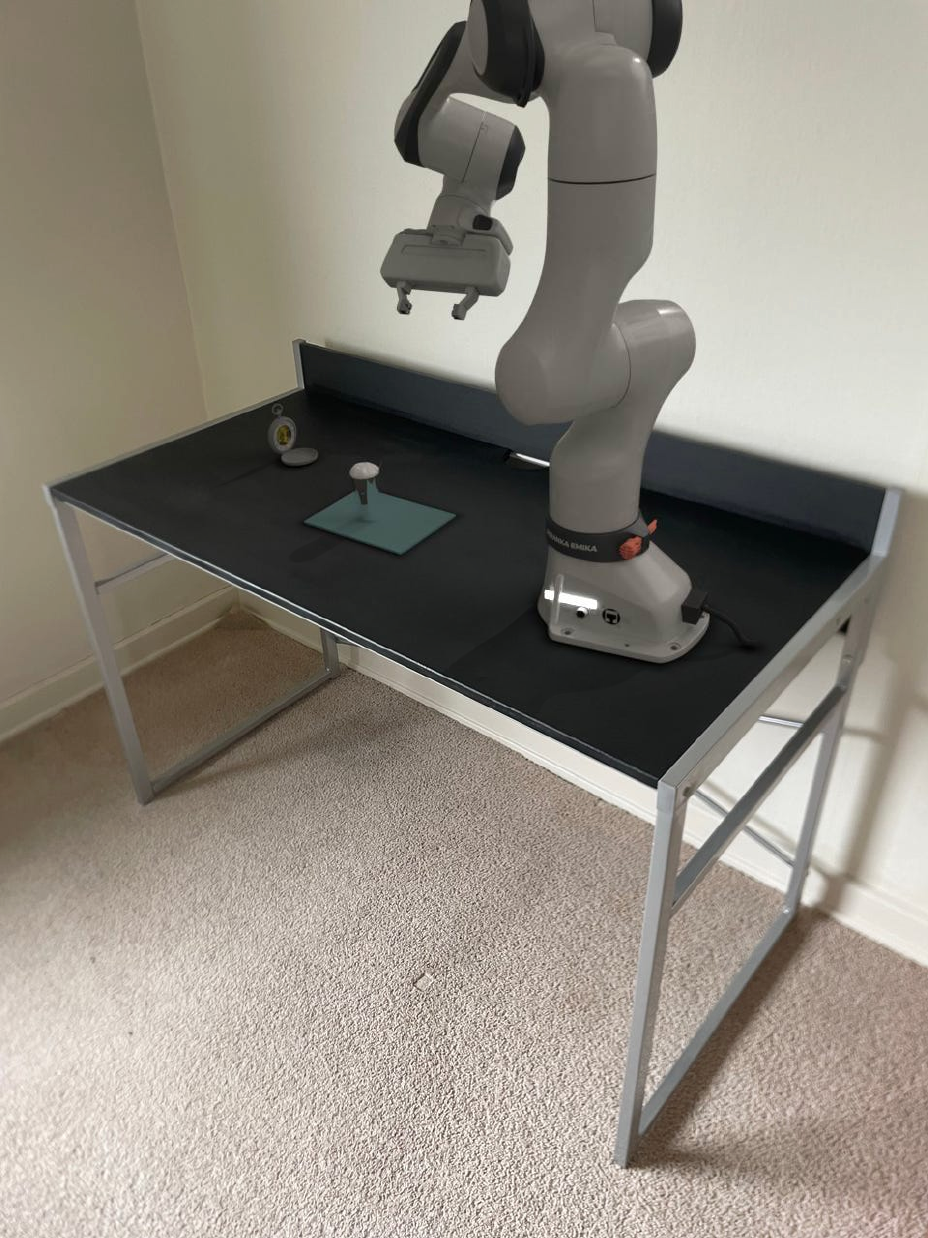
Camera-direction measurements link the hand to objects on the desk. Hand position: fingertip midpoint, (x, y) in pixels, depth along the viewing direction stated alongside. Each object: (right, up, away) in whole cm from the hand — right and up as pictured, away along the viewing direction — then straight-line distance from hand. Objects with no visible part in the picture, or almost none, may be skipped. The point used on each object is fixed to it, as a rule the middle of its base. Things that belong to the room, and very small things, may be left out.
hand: (429, 315), depth 137 cm
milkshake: (-9, -29, +10) cm, 32 cm away
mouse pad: (-8, -30, +10) cm, 32 cm away
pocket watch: (-26, -16, +31) cm, 44 cm away
